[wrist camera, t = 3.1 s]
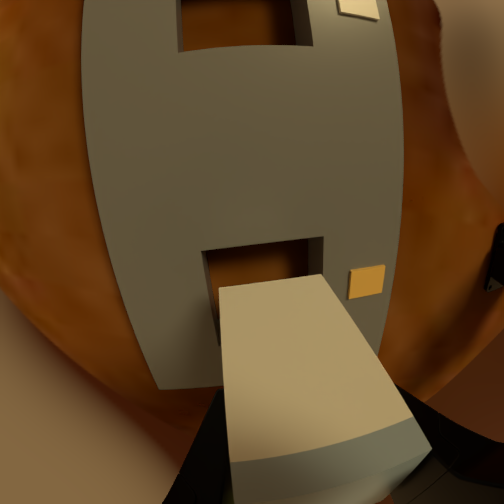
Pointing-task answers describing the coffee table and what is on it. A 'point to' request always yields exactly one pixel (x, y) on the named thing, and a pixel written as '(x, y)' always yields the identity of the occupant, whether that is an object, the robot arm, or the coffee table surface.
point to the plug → (309, 400)
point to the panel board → (241, 163)
